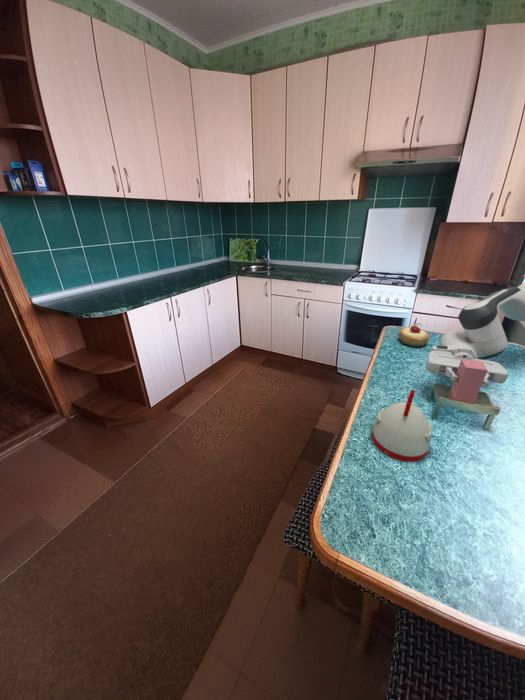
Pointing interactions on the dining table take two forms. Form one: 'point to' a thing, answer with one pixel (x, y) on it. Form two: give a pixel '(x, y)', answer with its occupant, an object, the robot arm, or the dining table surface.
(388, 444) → the kitchen timer
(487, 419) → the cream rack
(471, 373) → the pink carton
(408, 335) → the pastry
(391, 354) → the dining table surface
